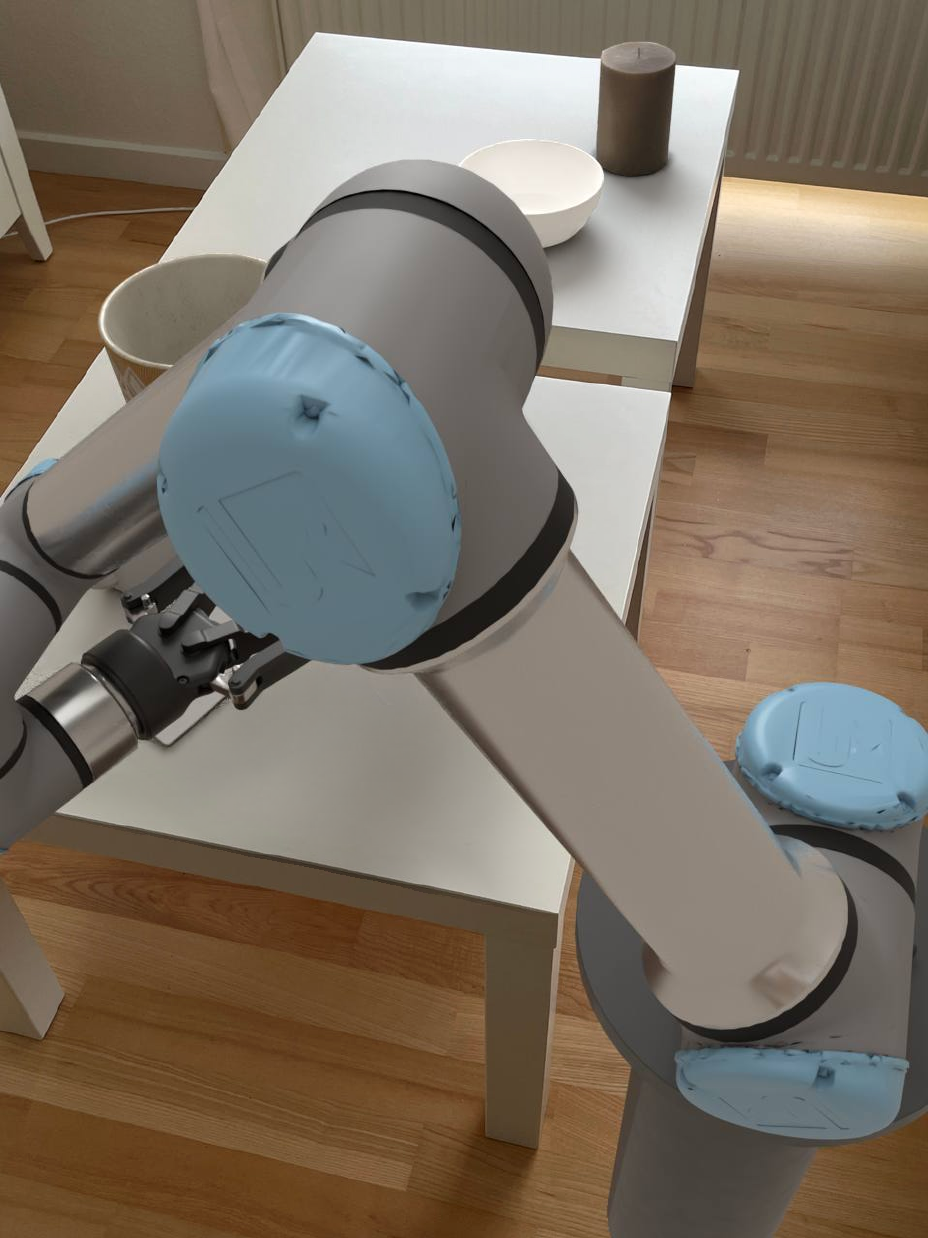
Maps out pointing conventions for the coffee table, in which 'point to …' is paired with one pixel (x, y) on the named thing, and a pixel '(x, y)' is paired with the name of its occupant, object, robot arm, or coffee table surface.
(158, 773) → the coffee table surface
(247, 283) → the planter
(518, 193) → the bowl
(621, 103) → the pillar candle
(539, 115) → the coffee table surface
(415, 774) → the coffee table surface
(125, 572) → the cup
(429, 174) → the robot arm
